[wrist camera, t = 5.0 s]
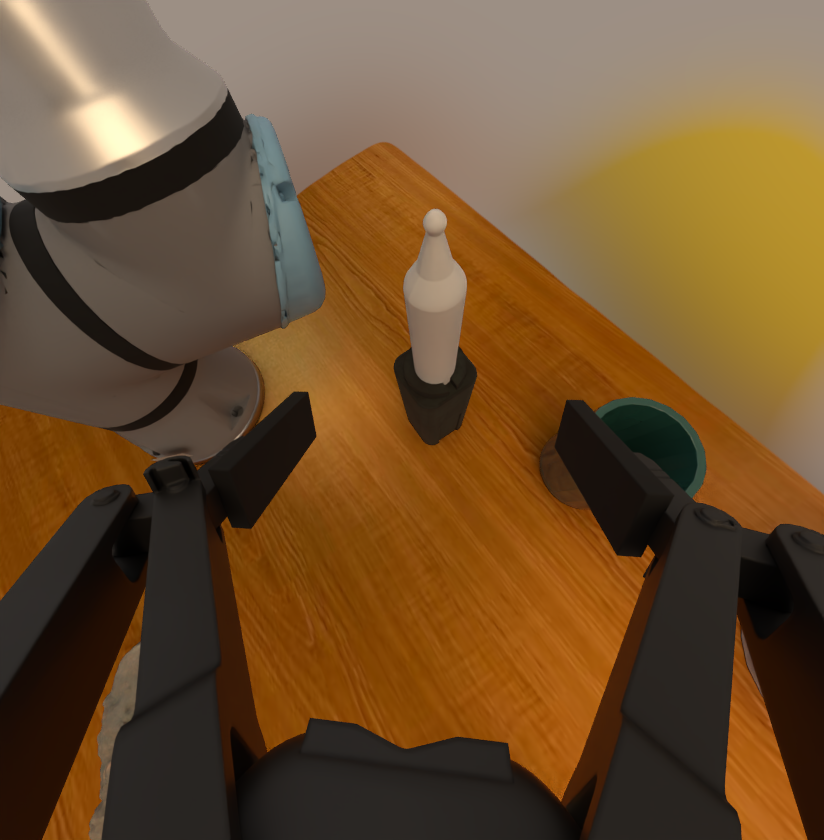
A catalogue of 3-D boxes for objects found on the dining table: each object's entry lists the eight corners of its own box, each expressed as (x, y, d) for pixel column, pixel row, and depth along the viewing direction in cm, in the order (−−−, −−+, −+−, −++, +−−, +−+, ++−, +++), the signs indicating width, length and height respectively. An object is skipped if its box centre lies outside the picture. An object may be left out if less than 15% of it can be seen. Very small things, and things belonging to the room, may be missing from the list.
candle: (429, 449, 33) (415, 299, 9) (403, 413, 35) (336, 203, 11) (466, 424, 34) (542, 220, 10) (439, 389, 35) (451, 139, 11)
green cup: (523, 451, 32) (561, 427, 23) (589, 416, 33) (652, 379, 23) (570, 524, 30) (633, 532, 21) (640, 486, 31) (733, 475, 21)
